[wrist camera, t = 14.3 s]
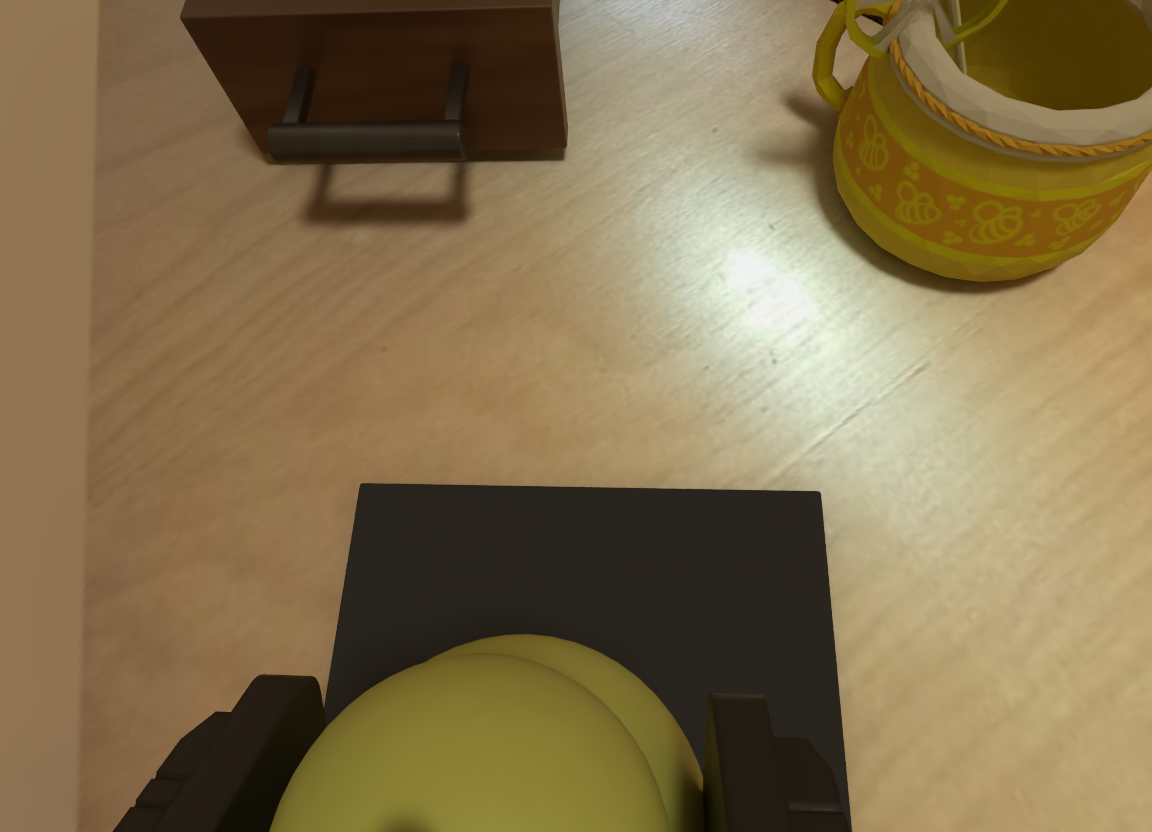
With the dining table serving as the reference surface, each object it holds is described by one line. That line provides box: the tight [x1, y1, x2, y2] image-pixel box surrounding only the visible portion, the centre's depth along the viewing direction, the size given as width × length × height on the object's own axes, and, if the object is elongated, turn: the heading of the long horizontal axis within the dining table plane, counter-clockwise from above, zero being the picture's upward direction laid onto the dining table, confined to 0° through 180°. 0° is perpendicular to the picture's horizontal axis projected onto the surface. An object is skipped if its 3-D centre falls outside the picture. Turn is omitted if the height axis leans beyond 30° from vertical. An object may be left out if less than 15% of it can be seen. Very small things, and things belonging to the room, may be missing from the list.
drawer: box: [180, 0, 568, 164], centre depth 32 cm, size 18×13×7 cm
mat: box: [324, 483, 852, 832], centre depth 23 cm, size 16×20×1 cm
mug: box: [812, 0, 1152, 282], centre depth 26 cm, size 13×11×12 cm
